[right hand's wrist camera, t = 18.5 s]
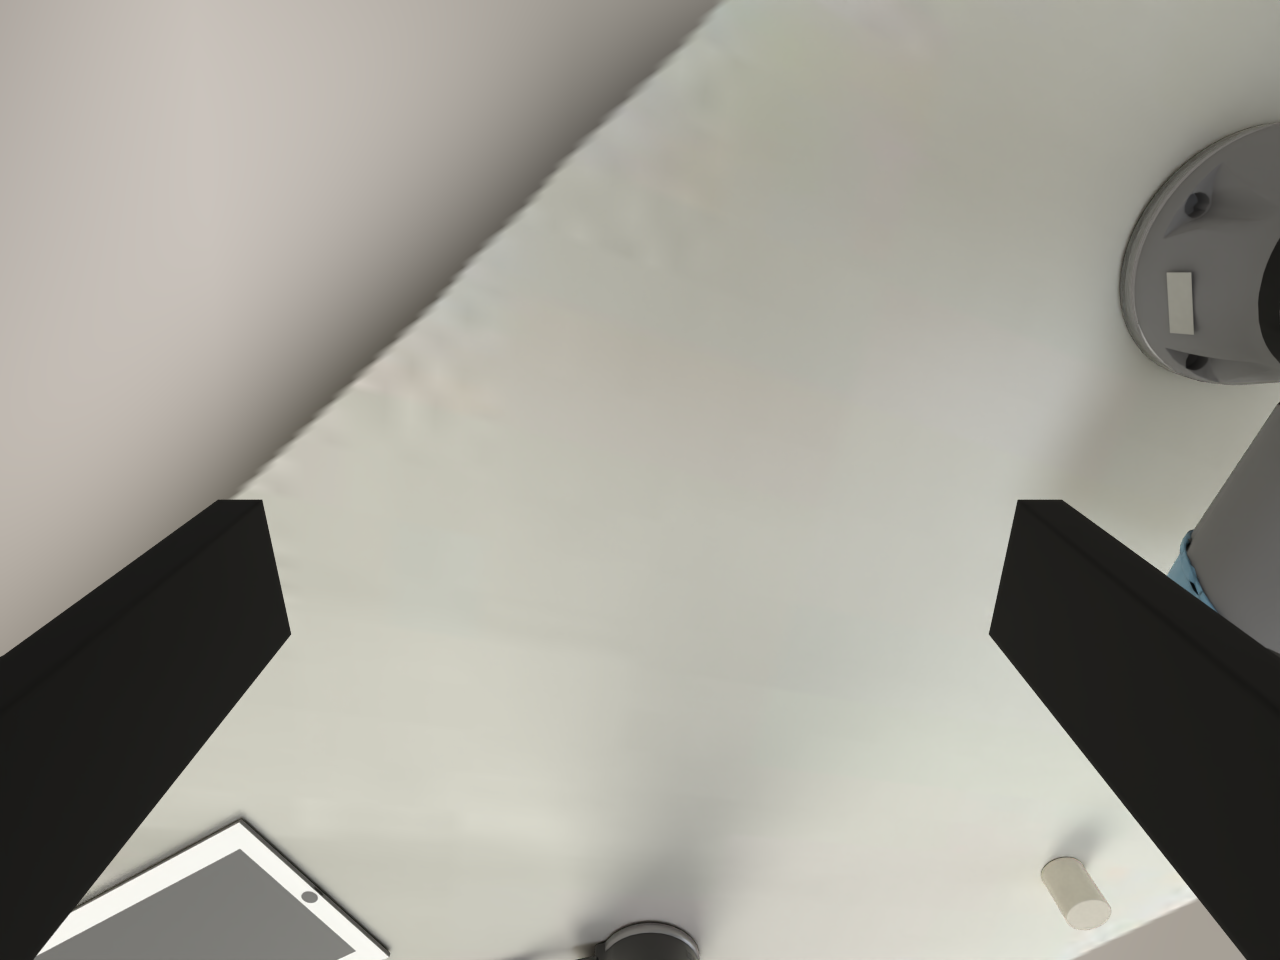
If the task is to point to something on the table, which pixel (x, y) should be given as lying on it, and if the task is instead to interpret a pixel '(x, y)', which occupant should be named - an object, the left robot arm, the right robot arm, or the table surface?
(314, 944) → the tablet
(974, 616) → the table surface
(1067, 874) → the can
